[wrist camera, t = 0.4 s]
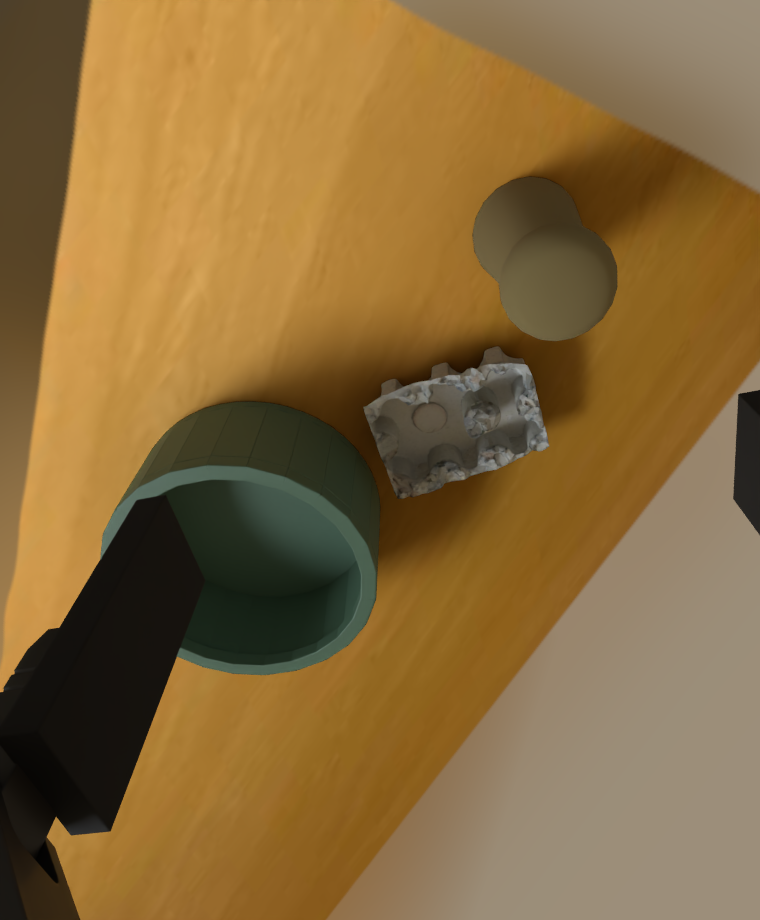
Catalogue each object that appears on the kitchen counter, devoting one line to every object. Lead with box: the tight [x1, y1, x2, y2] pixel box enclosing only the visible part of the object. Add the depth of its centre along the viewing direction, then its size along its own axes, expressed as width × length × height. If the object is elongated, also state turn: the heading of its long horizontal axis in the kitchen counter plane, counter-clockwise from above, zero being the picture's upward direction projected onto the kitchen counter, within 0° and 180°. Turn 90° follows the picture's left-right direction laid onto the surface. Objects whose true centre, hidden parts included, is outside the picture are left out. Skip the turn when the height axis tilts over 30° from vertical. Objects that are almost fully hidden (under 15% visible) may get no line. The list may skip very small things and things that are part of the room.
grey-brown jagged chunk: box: [363, 346, 549, 499], centre depth 43 cm, size 11×8×4 cm
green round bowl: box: [100, 401, 380, 675], centre depth 46 cm, size 17×17×8 cm
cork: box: [473, 177, 617, 341], centre depth 34 cm, size 6×6×11 cm
